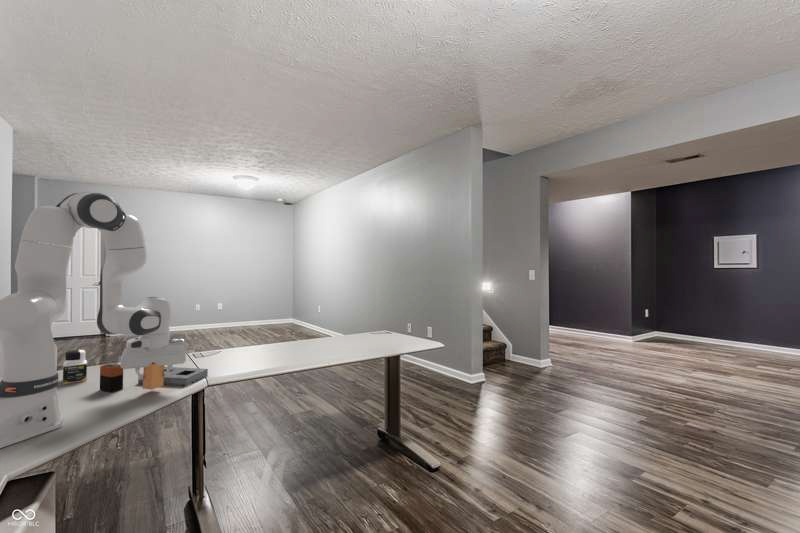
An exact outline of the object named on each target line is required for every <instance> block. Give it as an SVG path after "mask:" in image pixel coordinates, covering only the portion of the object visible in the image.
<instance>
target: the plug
mask: <svg viewBox="0 0 800 533" xmlns="http://www.w3.org/2000/svg"><path fill="white" fill-rule="evenodd" d="M164 367H165V365H163V366H158V364H155V362H152V364H149V367H143V371H142V372H143V373H142V374H143V384H142V389H145V390H150V391H151V390H154V389H157V388H162V387H164V385H163V381H164Z"/></svg>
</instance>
